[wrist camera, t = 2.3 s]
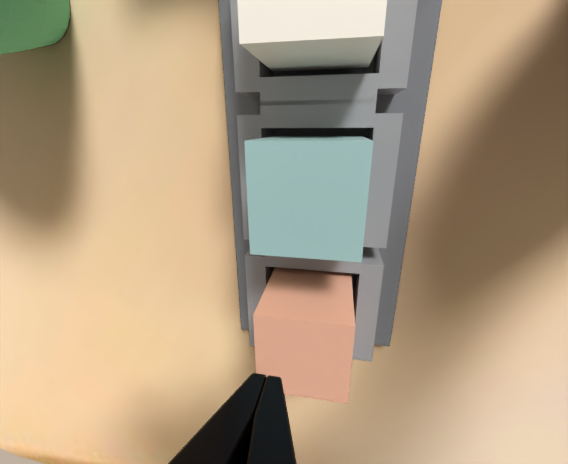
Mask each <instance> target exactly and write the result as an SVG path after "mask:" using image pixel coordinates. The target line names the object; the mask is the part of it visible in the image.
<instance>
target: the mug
mask: <svg viewBox="0 0 568 464" xmlns="http://www.w3.org/2000/svg"><path fill="white" fill-rule="evenodd" d="M69 19H70V1H69V0H0V54H9V53H14V52H20V51H25V50H30V49H34V48H39V47H43V46H48V45H52V44H55V43H56V42H57V41H59V40H60V39H61V38H62V37H63V35H64V34H65V32H66V30H67V28H68V24H69Z"/></svg>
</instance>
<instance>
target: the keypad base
mask: <svg viewBox="0 0 568 464" xmlns="http://www.w3.org/2000/svg"><path fill="white" fill-rule="evenodd" d="M441 4H442V0H387V8H386V18H385V28H384V36H383V38H382V40H381V42H380V45H379V47H378V49H377V51H376V53H375V55H374V57H373V59H372V61H371V63H370V65H369V67H364V68H338V69H312V70H286V71H272V70H271V69H269V68H268V67H267V66H266V65H265V64H263V63H262V62H261V61H260V60H258V59H257V58H256V57H255V56H254V55H252V54H251V53H250V52H249V51H247V50H246V49H245V48H244V47H243V46H241V45H240V44H239V25H238V5H237V0H219V11H220V25H221V40H222V54H223V69H224V84H225V98H226V113H227V127H228V142H229V157H230V171H231V186H232V200H233V215H234V230H235V244H236V259H237V273H238V288H239V302H240V317H241V329H247V330H249V338H250V346H255V343H254V323H253V314H254V312H255V310H256V308H257V305H258V303H259V301H260V299H261V297H262V294H263V292H264V290H265V288H266V286H267V283H268V281H269V279H270V277H271V275H272V272H273V270H274V268H275V267H280V268H293V269H305V270H318V271H331V272H343V273H351V277H352V289H353V302H354V314H355V336H354V346H353V357H352V359H357V360H365V361H372V356H373V348H374V345H382V346H390V341H391V334H392V327H393V321H394V314H395V308H396V301H397V294H398V288H399V281H400V275H401V268H402V262H403V255H404V248H405V242H406V235H407V229H408V222H409V215H410V209H411V202H412V196H413V189H414V182H415V176H416V169H417V163H418V156H419V149H420V143H421V136H422V130H423V123H424V116H425V110H426V103H427V97H428V90H429V83H430V77H431V70H432V64H433V57H434V50H435V44H436V37H437V31H438V24H439V17H440V11H441ZM271 136H363V137H365V138H368V139H370V140H372V141H373V151H372V162H371V172H370V182H369V192H368V203H367V213H366V223H365V233H364V244H363V254H362V262H350V261H336V260H322V259H308V258H294V257H280V256H267V255H253V254H250V244H249V224H248V204H247V184H246V164H245V144H244V141H245V140H252V139H258V138H265V137H271Z"/></svg>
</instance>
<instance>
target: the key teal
mask: <svg viewBox="0 0 568 464" xmlns="http://www.w3.org/2000/svg"><path fill="white" fill-rule="evenodd" d="M244 144H245V164H246V184H247V204H248V224H249V244H250V254H253V255H267V256H280V257H294V258H308V259H322V260H336V261H350V262H362V254H363V244H364V233H365V223H366V213H367V203H368V192H369V182H370V172H371V162H372V151H373V141H372V140H370V139H368V138H365V137H363V136H271V137H265V138H258V139H252V140H245V141H244Z"/></svg>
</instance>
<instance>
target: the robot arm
mask: <svg viewBox="0 0 568 464" xmlns="http://www.w3.org/2000/svg"><path fill="white" fill-rule="evenodd" d="M168 464H297V463H296V458H295V452H294V446H293V441H292V435H291V429H290V424H289V418H288V412H287V407H286V401H285V395H284V390H283V384H282V379H281V377H278V376H271V375H268V376H266V375H265V374H259V373H253V374H251V375H250V376H249V377H248V378H247V380H246V381H245V382H244V383H243V384H242V385H241V386H240V387H239V388H238V389H237V390H236V391H235V392H234V394H233V395H232V396H231V397H230V398H229V399H228V400H227V401H226V402H225V403H224V404H223V405H222V406H221V407H220V409H219V410H218V411H217V412H216V413H215V414H214V415H213V416H212V417H211V418H210V419H209V420H208V421H207V423H206V424H205V425H204V426H203V427H202V428H201V429H200V430H199V431H198V432H197V433H196V434H195V435H194V436H193V438H192V439H191V440H190V441H189V442H188V443H187V444H186V445H185V446H184V447H183V448H182V449H181V450H180V452H179V453H178V454H177V455H176V456H175V457H174V458H173V459H172V460H171V461H170V462H169V463H168Z"/></svg>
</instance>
